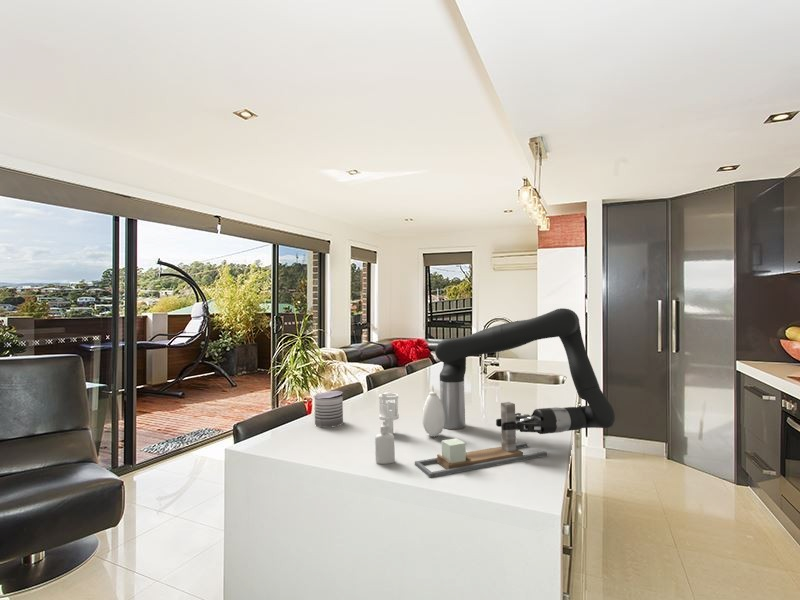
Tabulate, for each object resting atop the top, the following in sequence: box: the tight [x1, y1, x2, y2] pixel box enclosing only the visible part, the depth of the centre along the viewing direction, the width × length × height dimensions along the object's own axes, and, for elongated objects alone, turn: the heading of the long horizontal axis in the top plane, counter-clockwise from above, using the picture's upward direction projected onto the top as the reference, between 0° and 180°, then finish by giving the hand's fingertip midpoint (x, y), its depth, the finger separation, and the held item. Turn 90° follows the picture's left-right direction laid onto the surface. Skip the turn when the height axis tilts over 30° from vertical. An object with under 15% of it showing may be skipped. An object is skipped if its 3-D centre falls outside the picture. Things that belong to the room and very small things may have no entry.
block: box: [441, 437, 467, 463], centre depth 123 cm, size 5×5×5 cm
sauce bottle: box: [422, 384, 445, 438], centre depth 151 cm, size 8×8×18 cm
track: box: [414, 442, 548, 478], centre depth 126 cm, size 10×39×1 cm, turn 112°
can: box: [313, 390, 344, 428], centre depth 170 cm, size 11×11×12 cm
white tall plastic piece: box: [378, 391, 400, 435], centre depth 155 cm, size 7×7×15 cm
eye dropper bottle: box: [374, 420, 396, 465], centre depth 127 cm, size 4×6×12 cm
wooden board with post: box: [436, 401, 524, 469], centre depth 126 cm, size 7×25×16 cm, turn 112°
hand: (499, 424), depth 129 cm, fingers closed on wooden board with post, 3 cm apart
